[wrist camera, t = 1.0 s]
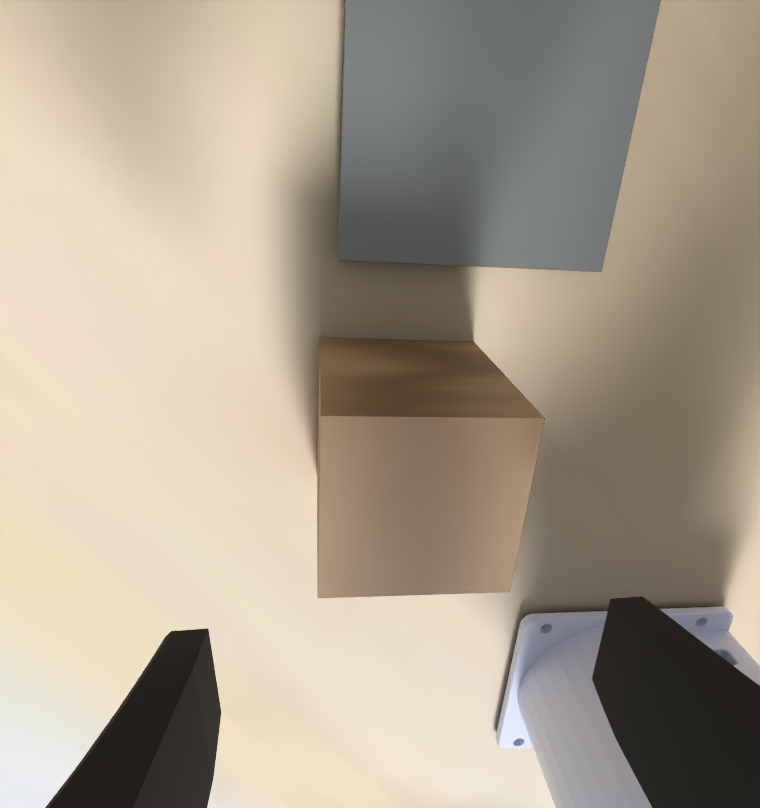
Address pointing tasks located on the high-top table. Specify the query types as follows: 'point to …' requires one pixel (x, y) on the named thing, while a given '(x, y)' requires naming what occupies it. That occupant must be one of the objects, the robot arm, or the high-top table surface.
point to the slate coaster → (487, 129)
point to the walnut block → (419, 469)
